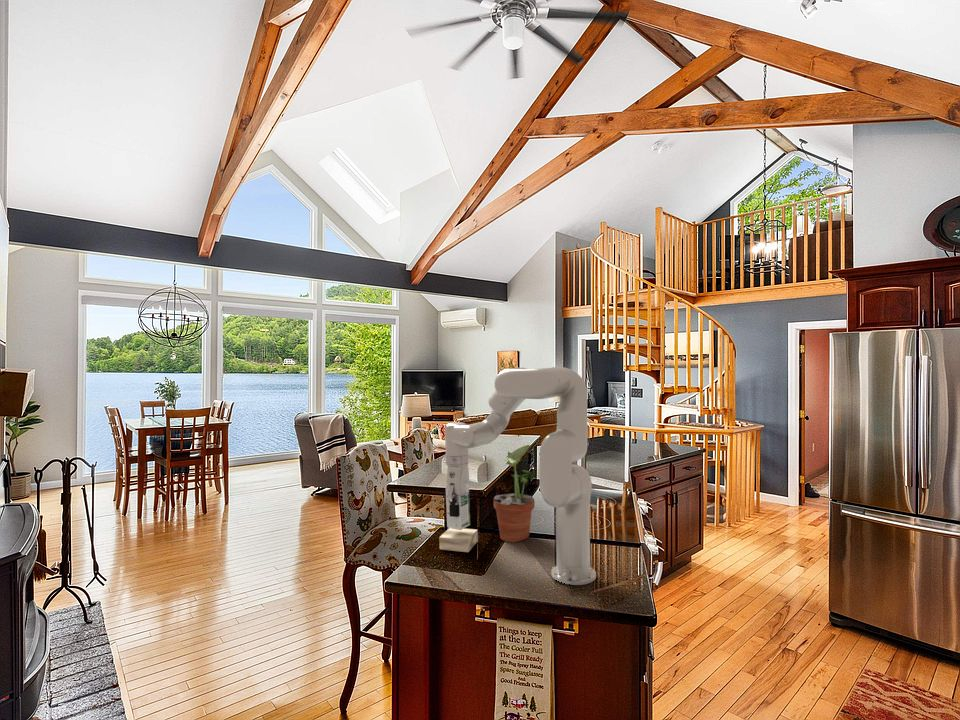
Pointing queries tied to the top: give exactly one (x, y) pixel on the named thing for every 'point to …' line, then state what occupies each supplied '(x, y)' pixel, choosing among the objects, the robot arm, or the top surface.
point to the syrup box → (463, 511)
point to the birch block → (458, 539)
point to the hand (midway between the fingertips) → (458, 512)
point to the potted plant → (515, 504)
